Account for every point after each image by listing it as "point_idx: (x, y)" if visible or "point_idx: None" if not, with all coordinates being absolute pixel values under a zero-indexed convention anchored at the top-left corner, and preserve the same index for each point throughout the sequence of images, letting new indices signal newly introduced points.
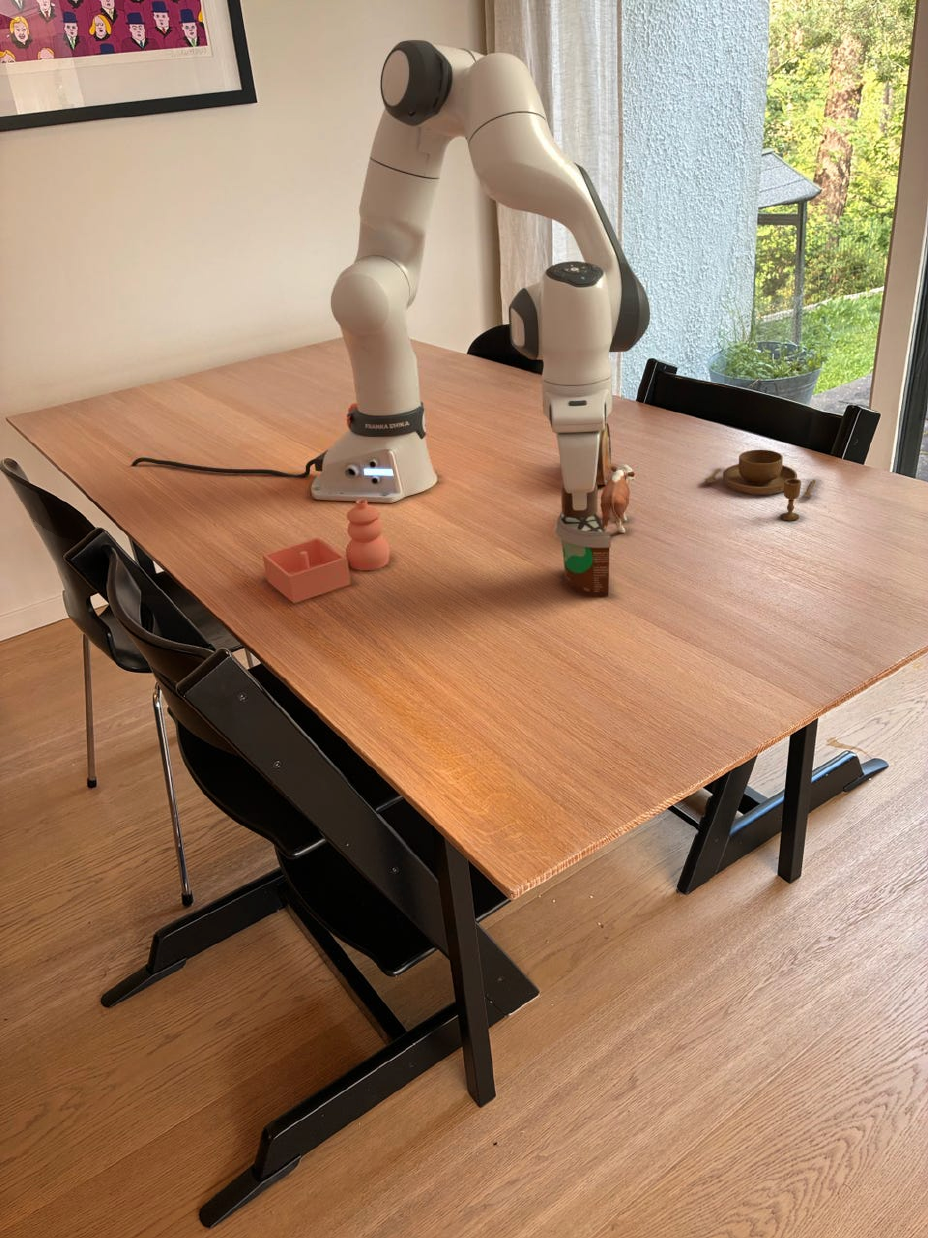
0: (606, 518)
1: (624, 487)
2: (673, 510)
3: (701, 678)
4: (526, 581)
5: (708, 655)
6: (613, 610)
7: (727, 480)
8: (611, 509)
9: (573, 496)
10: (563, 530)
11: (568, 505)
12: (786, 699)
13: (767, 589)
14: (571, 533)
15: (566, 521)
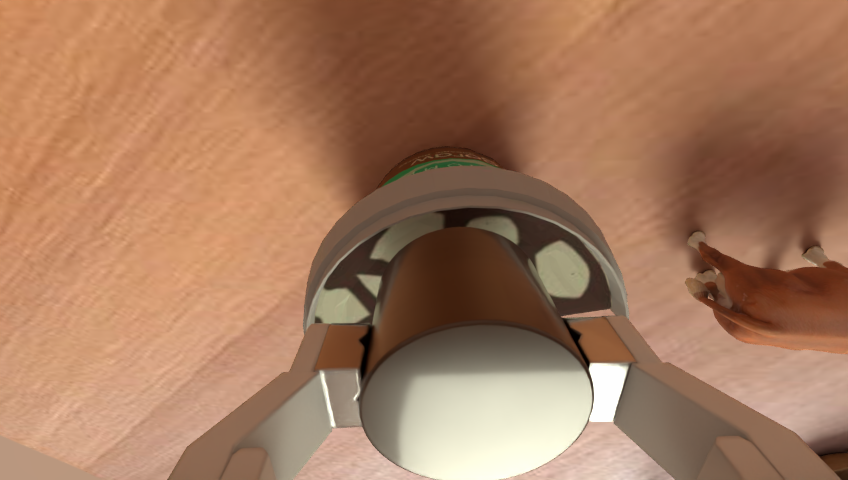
0: (720, 271)
1: (838, 352)
2: (775, 369)
3: (96, 372)
4: (458, 25)
5: (173, 384)
6: (306, 253)
7: (842, 468)
8: (729, 301)
9: (268, 388)
10: (371, 212)
11: (385, 293)
12: (87, 449)
13: None
14: (334, 245)
15: (471, 221)
